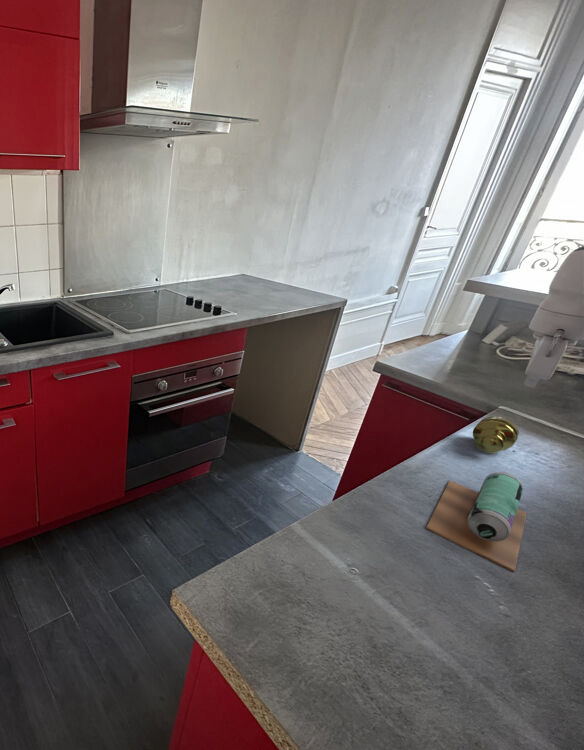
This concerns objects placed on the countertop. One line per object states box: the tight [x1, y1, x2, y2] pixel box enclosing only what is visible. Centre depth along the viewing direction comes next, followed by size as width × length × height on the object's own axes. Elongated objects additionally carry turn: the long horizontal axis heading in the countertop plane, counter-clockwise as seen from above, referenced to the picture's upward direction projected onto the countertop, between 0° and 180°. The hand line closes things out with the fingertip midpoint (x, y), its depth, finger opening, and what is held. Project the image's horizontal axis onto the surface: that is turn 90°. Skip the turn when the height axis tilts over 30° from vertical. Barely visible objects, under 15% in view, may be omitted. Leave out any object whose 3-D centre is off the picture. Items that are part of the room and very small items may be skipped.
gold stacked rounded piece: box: [472, 416, 520, 454], centre depth 97 cm, size 7×7×10 cm
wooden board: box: [425, 480, 528, 573], centre depth 78 cm, size 20×12×1 cm, turn 131°
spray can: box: [468, 472, 524, 542], centre depth 77 cm, size 6×6×20 cm
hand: (529, 385), depth 90 cm, fingers closed
